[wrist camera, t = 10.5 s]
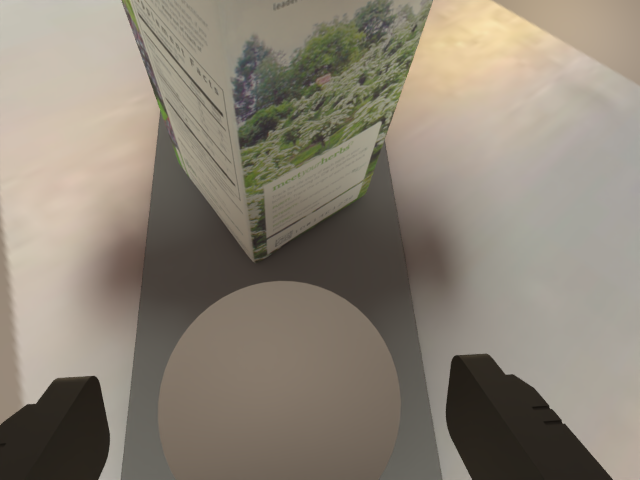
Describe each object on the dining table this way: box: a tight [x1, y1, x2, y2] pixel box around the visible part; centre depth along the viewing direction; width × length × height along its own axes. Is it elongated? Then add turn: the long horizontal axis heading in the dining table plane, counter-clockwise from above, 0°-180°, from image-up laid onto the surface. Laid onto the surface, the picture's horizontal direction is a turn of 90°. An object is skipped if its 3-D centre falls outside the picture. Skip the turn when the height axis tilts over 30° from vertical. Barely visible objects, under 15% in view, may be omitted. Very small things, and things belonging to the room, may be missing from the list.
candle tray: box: [121, 111, 442, 480], centre depth 13 cm, size 10×20×9 cm, turn 4°
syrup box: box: [121, 0, 433, 263], centre depth 12 cm, size 6×6×14 cm
